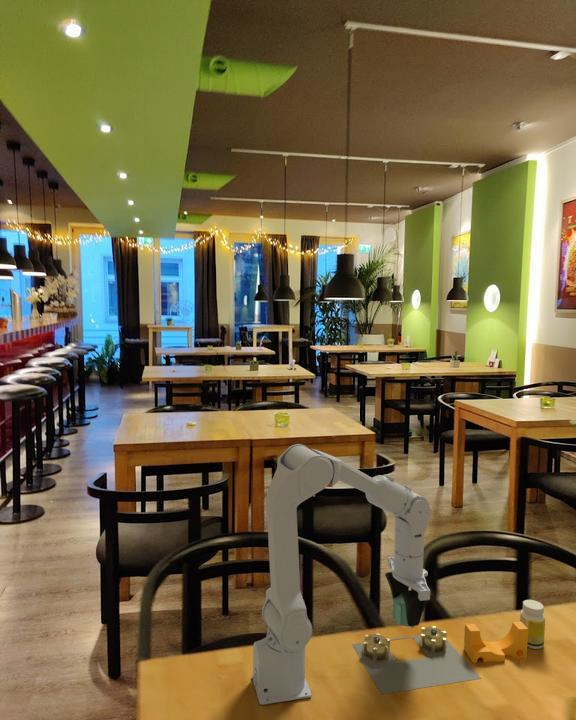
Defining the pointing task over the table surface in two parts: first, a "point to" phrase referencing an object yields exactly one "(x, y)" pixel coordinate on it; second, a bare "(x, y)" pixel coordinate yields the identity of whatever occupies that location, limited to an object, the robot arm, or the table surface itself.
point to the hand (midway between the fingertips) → (406, 616)
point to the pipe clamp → (496, 644)
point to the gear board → (414, 662)
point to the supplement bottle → (533, 623)
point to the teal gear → (400, 611)
